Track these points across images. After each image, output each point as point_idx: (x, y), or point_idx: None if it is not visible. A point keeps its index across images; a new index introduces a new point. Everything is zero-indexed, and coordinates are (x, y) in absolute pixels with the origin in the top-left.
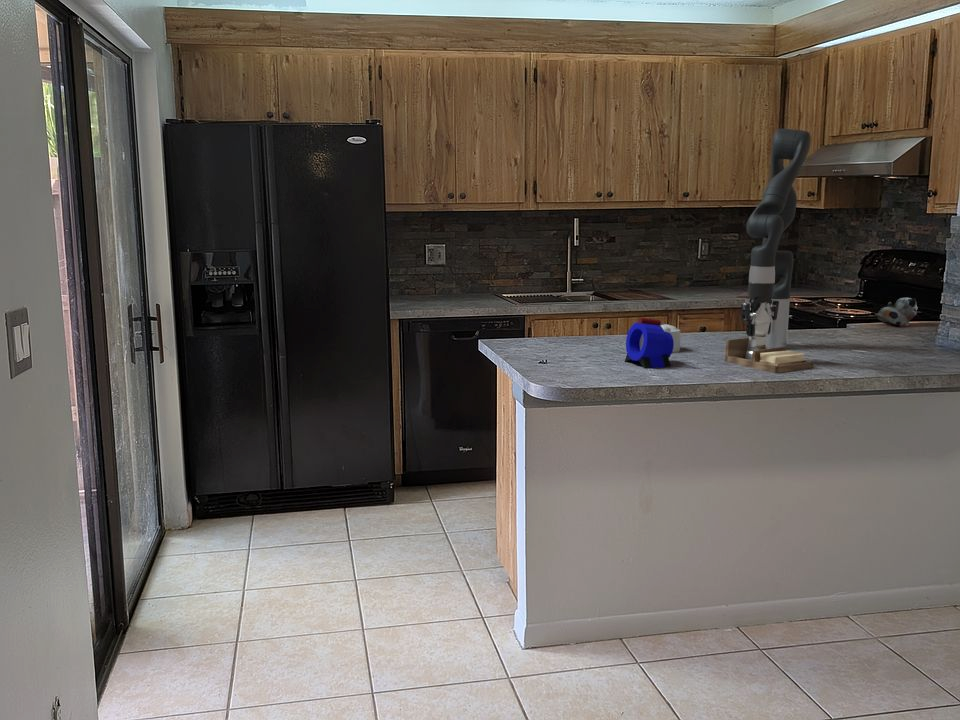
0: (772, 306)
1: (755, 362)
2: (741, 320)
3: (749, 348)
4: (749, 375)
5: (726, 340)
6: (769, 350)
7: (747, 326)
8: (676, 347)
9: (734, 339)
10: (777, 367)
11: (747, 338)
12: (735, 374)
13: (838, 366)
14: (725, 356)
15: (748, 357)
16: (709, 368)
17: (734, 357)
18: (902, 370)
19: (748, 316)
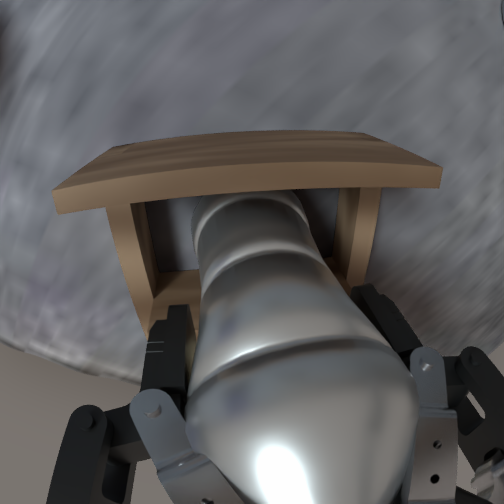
0: (477, 476)
1: (144, 328)
2: (71, 415)
3: (197, 253)
4: (107, 324)
5: (54, 191)
6: None
7: (145, 381)
8: None
9: (116, 198)
10: None
11: (263, 190)
12: (71, 299)
13: (437, 308)
14: (97, 158)
15: (191, 232)
16: (26, 186)
17: (113, 217)
18: (457, 355)
19: (111, 488)
